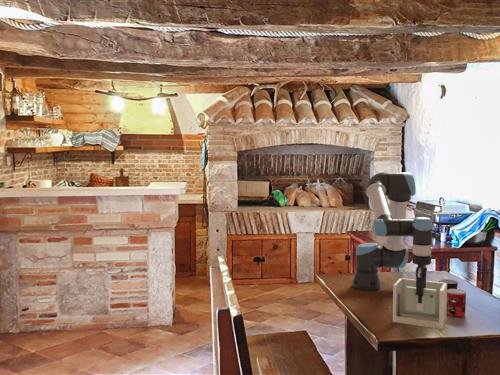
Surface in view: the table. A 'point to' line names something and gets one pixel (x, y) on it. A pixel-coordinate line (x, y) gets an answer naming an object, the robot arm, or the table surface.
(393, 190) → the robot arm
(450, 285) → the coffee mug
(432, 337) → the table surface
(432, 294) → the door
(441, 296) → the cabinet
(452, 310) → the canned food
